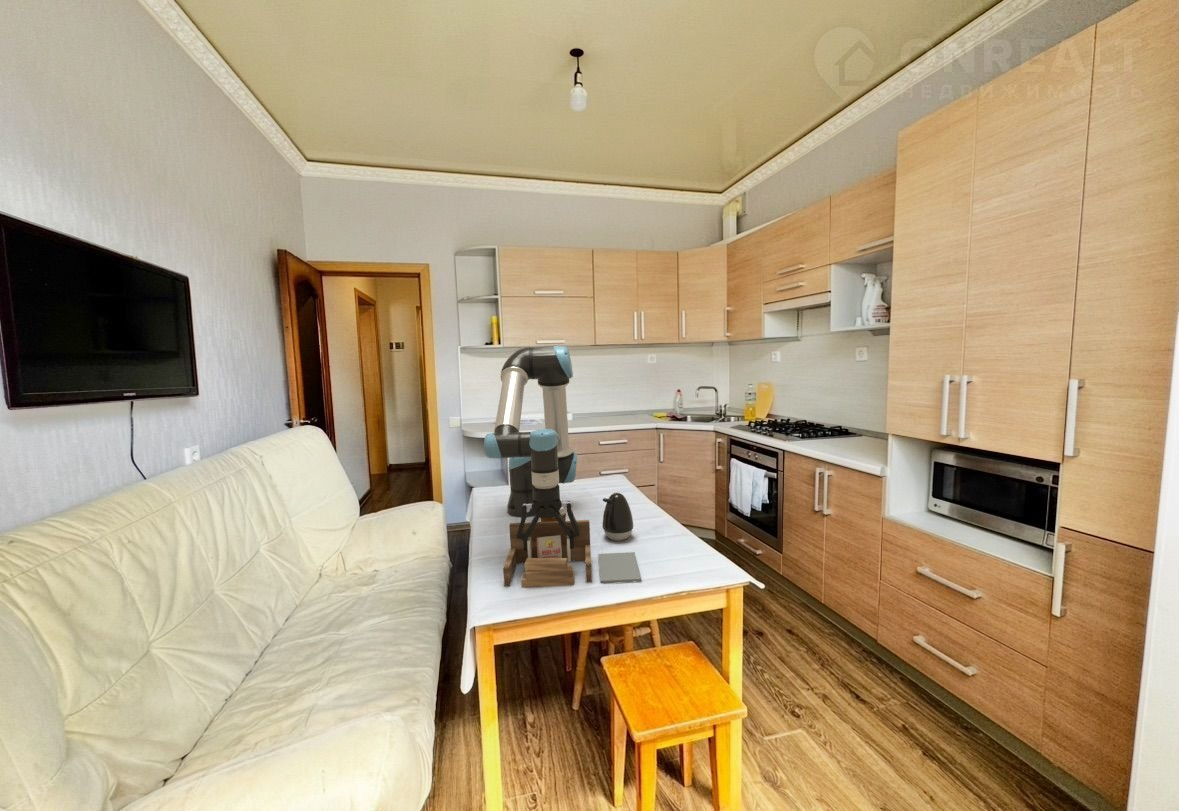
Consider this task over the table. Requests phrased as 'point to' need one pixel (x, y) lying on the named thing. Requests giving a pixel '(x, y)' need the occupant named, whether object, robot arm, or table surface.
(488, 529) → the table surface
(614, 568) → the mat
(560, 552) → the tea bag
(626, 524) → the pump dispenser
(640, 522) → the table surface
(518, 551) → the bench
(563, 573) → the offcut stack
